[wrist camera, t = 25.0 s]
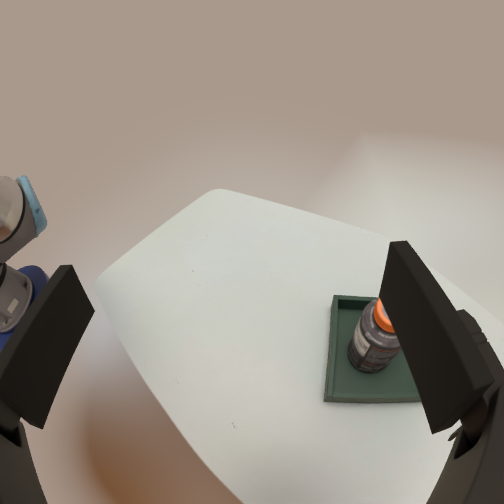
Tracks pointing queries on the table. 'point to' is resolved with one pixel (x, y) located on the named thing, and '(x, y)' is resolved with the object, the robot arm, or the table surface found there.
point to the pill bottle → (373, 340)
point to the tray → (352, 380)
